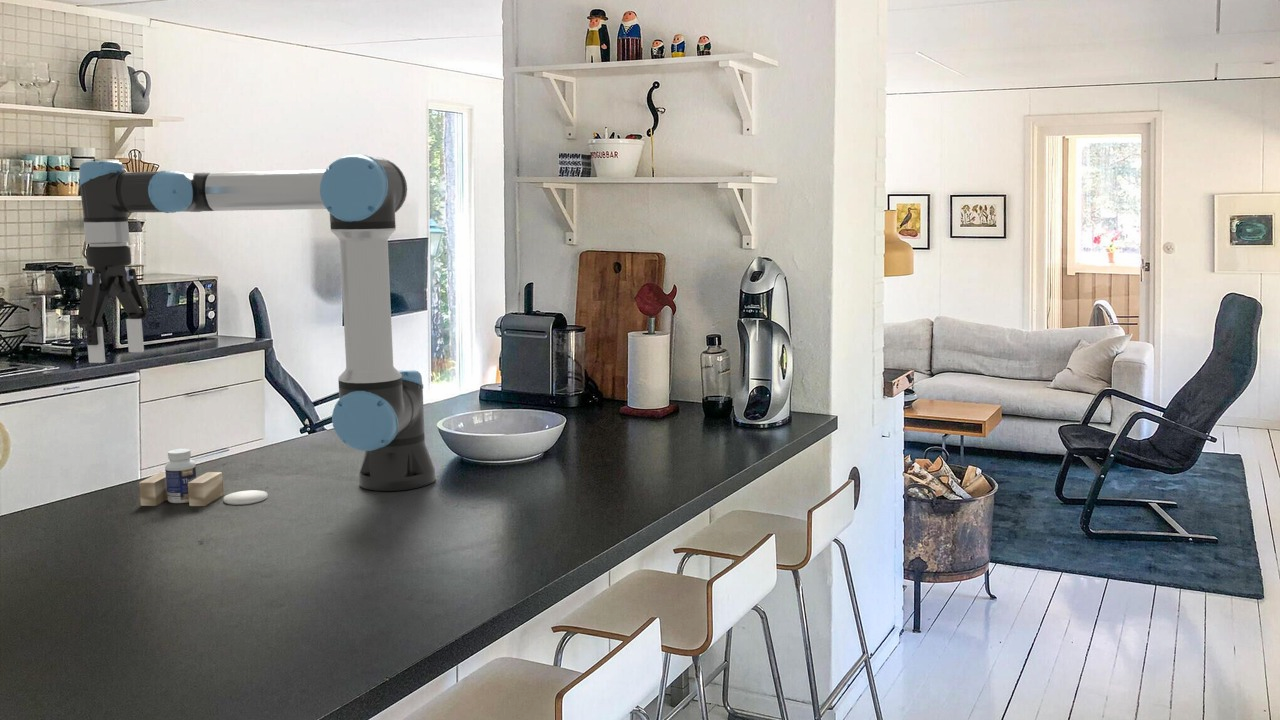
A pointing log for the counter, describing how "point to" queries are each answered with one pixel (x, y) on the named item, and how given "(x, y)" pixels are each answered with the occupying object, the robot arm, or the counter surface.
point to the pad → (245, 497)
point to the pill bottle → (179, 475)
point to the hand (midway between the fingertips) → (117, 357)
